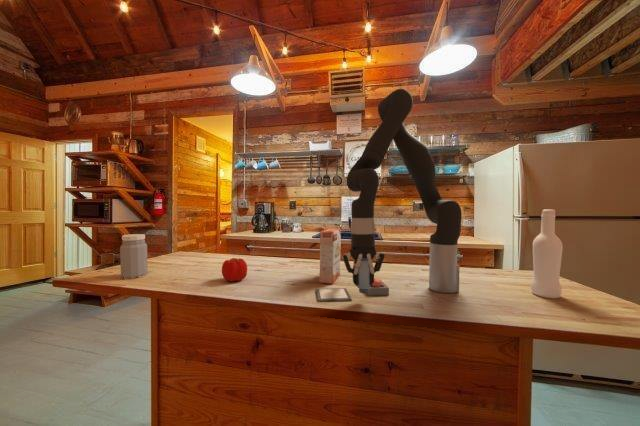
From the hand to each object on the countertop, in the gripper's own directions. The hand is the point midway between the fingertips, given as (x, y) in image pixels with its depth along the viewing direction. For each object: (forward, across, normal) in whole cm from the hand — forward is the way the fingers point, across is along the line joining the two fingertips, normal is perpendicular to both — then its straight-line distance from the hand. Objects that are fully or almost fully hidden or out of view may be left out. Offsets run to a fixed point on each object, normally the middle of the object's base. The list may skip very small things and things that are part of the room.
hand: (363, 284), depth 83 cm
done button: (+4, -7, -9) cm, 12 cm away
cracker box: (+6, +7, -26) cm, 28 cm away
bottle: (+7, -65, -2) cm, 66 cm away
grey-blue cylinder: (+2, 0, 0) cm, 2 cm away
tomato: (+5, +47, -28) cm, 55 cm away
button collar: (+6, -7, -9) cm, 13 cm away
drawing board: (+6, +9, -7) cm, 13 cm away
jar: (+4, +92, -38) cm, 100 cm away
